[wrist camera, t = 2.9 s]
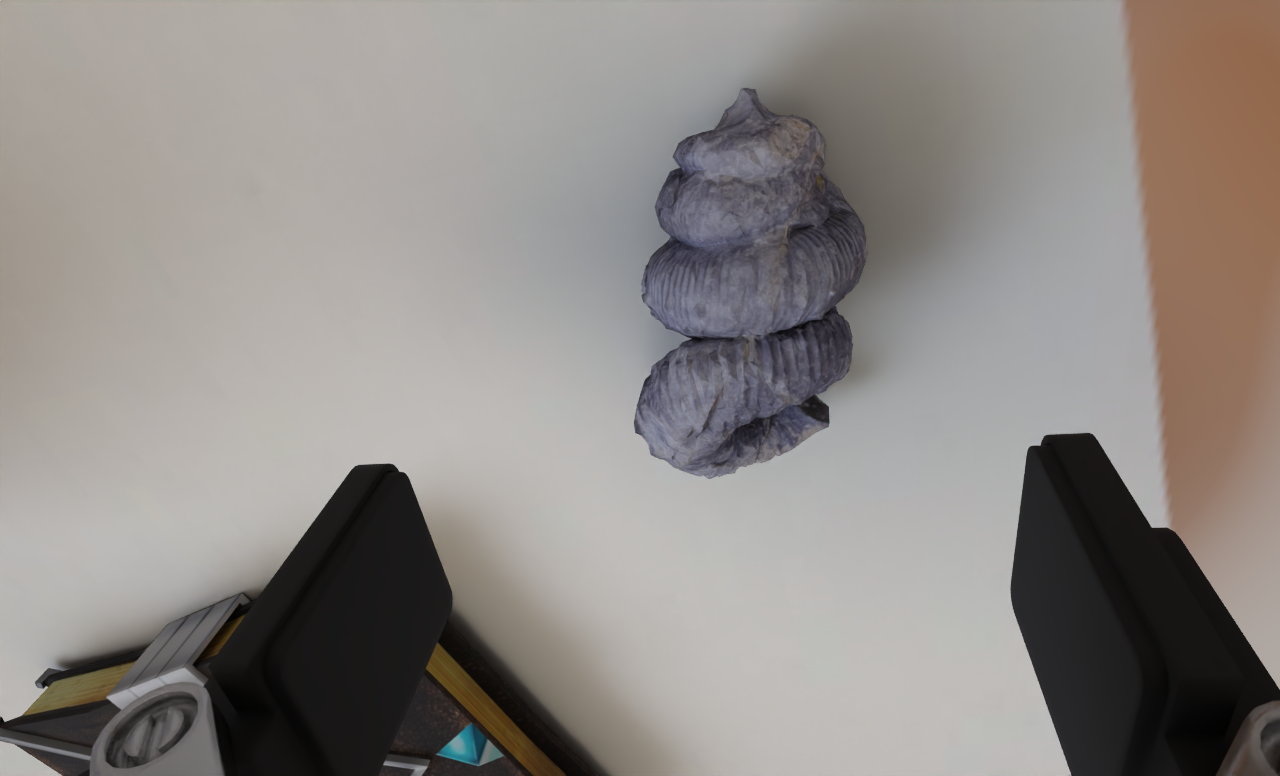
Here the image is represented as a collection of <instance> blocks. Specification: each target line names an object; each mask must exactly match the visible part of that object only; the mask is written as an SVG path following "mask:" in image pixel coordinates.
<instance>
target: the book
mask: <svg viewBox="0 0 1280 776" xmlns="http://www.w3.org/2000/svg"><path fill="white" fill-rule="evenodd" d="M256 600H257V599H256ZM256 600H254V601H250V600H249V599H247V598H246V597H245V596H244V595H243V594H242V593H241V594H239V595H237V596H234V597H232V598H229V599H227V600H225V601H222V602H220V603H218V604H215V605H213V606H210V607H208V608H206V609H203V610H201V611H198V612H196V613H194V614H191V615H189V616H187V617H184V618H182V619H179V620H177V621H175V622H172V623H170V624H167V626H166V627H165V628H164V629H163V630H162V631H161V633H160V634H159V635H158V636H157V637H156V639H155V640H154V641H153V642H152V643H151V644H150V646H149V647H148V648H146V649H143V650H141V651H138V652H134V653H131V654H127V655H123V656H119V657H115V658H111V659H108V660H104V661H100V662H96V663H92V664H89V665H85V666H81V667H77V668H73V669H69V670H66V671H60V670H55V669H51V668H48V669H47V670H46V671H45V672H44V673H43V674H42V675H41V676H40V678H39V679H38V680H37V681H36V682H35V684H36V686H37V687H38V688H42V689H43V688H44V687H45V686H47V687H48V688H47V689H46V691H45V692H44V693H43V694H42V695H41V696H40V697H39V698H38V699H37V700H36V701H35V702H34V703H33V704H32V706H31V707H30V708H29V709H28V710H27V711H26V712H25V713H24V714H23V715H22V716H20V717H18V718H15V719H12V720H9V721H7V722H4V720H3V718H2V717H0V741H3V742H7V743H12V744H15V745H17V746H18V747H20V748H21V749H23V750H24V751H26V752H27V753H29V754H30V755H32V756H33V757H35V758H37V759H38V760H40V761H41V762H43V763H44V764H46V765H47V766H49V767H50V768H52V769H53V770H55V771H56V772H58V773H60V774H61V775H63V776H77V775H79V774H81V773H83V772H84V771H86V770H88V769H90V758H91V753H92V749H93V745H94V744H95V742H96V740H97V738H98V737H99V735H100V733H101V731H102V730H103V729H104V728H105V726H106V725H107V724H108V723H109V722H110V721H111V720H112V719H113V717H114V716H115V715H116V714H118V713H119V712H120V711H121V710H122V709H124V708H125V707H126V706H127V705H129V704H130V703H131V702H132V701H134V700H136V699H137V698H139V697H141V696H142V695H144V694H146V693H147V692H149V691H152V690H154V689H157V688H159V687H162V686H164V685H167V684H172V683H178V682H192V683H197V684H199V685H201V686H202V687H203V686H204V685H205V683H206V682H207V681H208V679H209V678H210V676H211V675H212V673H211V672H210V670H209V669H208V666H209V665H210V663H211V662H212V660H213V659H214V658H215V656H216V655H217V654H218V652H219V651H220V649H221V648H222V647H223V645H224V644H225V643H226V641H227V640H228V638H229V637H230V636H231V634H232V633H233V632H234V630H235V629H236V628H237V626H238V625H239V623H240V622H241V621H242V619H243V618H244V617H245V615H246V614H247V612H248V611H249V610H250V608H251V607H252V606H253V604H254V603H255V601H256ZM379 776H596V775H595V774H594V773H593V772H592V771H591V770H590V769H589V768H588V767H587V766H586V765H585V764H584V763H583V762H582V761H581V760H579V759H578V758H577V757H576V756H575V755H574V754H573V753H572V752H571V751H570V750H569V749H568V748H567V747H566V746H565V745H564V744H563V743H562V742H561V741H560V740H559V739H557V738H556V737H555V736H554V735H553V734H552V733H551V732H550V731H549V730H548V729H547V728H546V727H545V726H544V725H543V724H542V723H541V721H540V720H539V719H538V718H537V717H536V716H535V715H534V714H533V713H532V712H531V711H530V710H529V709H528V708H527V707H526V706H525V704H524V703H523V702H522V701H521V700H520V699H519V698H518V697H517V696H516V695H515V694H514V693H513V692H512V691H511V690H510V689H509V687H508V686H507V685H506V684H505V683H504V682H503V681H502V680H501V679H500V678H499V677H498V676H497V675H496V674H495V673H494V671H493V670H492V669H491V668H490V667H489V666H488V665H487V664H486V663H485V662H484V661H483V660H482V659H481V658H480V657H479V656H478V654H477V653H476V652H475V651H474V650H473V649H472V648H471V647H470V646H469V645H468V644H467V643H466V642H465V641H464V640H463V639H462V637H461V636H460V635H459V634H458V633H457V632H456V631H455V630H454V629H453V628H452V627H451V626H450V625H449V623H448V622H446V624H445V626H444V629H443V631H442V633H441V636H440V638H439V640H438V642H437V645H436V647H435V649H434V651H433V654H432V656H431V658H430V660H429V663H428V665H427V667H426V669H425V672H424V674H423V676H422V678H421V681H420V683H419V685H418V687H417V690H416V692H415V694H414V696H413V699H412V701H411V703H410V706H409V708H408V710H407V712H406V715H405V717H404V719H403V721H402V724H401V726H400V728H399V730H398V733H397V735H396V737H395V739H394V742H393V744H392V746H391V748H390V751H389V753H388V755H387V757H386V760H385V762H384V764H383V766H382V769H381V771H380V773H379Z"/></svg>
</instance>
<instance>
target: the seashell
mask: <svg viewBox="0 0 1280 776" xmlns="http://www.w3.org/2000/svg"><path fill="white" fill-rule="evenodd" d="M825 146H826V142H825V139H824V137H823V136H822V134H821V133H820V132H819V131H818V129H817V127H816V126H815V125H814V124H812V123H811V122H810V121H808V120H806V119H803V118H800V117H797V116H794V115H791V116H779V115H776V114H774V113H772V112H770V111H769V110H768V109H767V108H766V107H765V106H764V105H762V104H761V103H760V102H759V99H758V96H757V93H756V90H754V89H749V88H743V89H741V90H740V93H739V96H738V98H737V100H736V102H735V103H734V104H733V106H731V107H730V108H728V109H726V110H725V112H724V114H723V116H722V118H721V120H720V122H719V124H718V125H717V126H716V128H715V129H714V130H711V131H707V132H703V133H700V134H697V135H693V136H690V137H687V138H686V139H684V140H683V141H681V142H680V143H679V144H678V146H677V148H676V150H675V153H674V155H673V158H674V159H675V161H676V162H677V163H678V165H679V166H680V167H681V168H679V169H676V170H673V171H671V172H670V173H669V175H668V177H667V179H666V181H665V183H664V185H663V187H662V189H661V191H660V193H659V196H658V199H657V202H656V205H655V209H656V213H657V217H658V220H659V223H660V226H661V228H662V229H663V230H664V231H665V232H667V233H668V234H669V235H670V236H671V237H670V239H669V241H668V242H667V243H666V244H664V245H663V246H662V247H660V248H659V249H658V250H657V251H656V252H655V253H654V254H653V255H652V256H651V258H650V260H649V262H648V264H647V265H646V268H645V272H644V275H643V279H642V284H641V285H642V293H643V295H642V299H643V302H644V303H645V304H646V305H647V306H648V307H649V308H650V309H651V315H652V316H654V317H655V318H656V319H657V320H660V321H661V322H662V323H663V325H664V326H665V327H666V329H670V330H673V331H676V332H678V333H680V334H682V335H684V336H687V337H689V338H691V340H688V341H685V342H682V344H681V345H680V347H679V348H677V349H675V350H672V351H670V352H669V353H668V354H667V355H666V356H665V357H664V358H663V359H662V360H660V361H658V362H657V363H656V364H654V365H653V366H652V369H651V375H650V376H649V377H648V378H646V379H645V381H644V384H643V388H642V391H641V394H640V398H639V401H638V404H637V409H636V414H635V420H634V426H635V433H637V434H639V435H641V436H643V438H644V439H645V440H646V442H647V443H648V444H649V449H650V454H651V455H652V456H655V457H657V458H659V459H664V460H665V461H667V462H668V463H669V464H670V465H672V466H673V467H674V468H677V469H679V470H682V471H685V472H688V473H691V474H694V475H697V476H703V475H704V476H705V477H707V478H708V479H710V478H713V477H716V476H718V477H720V476H723V475H725V474H732V473H735V471H736V470H737V468H738V467H742V466H743V467H746V466H747V465H751V464H753V463H762V462H765V461H768V460H771V459H772V458H773V457H774V456H775V455H778V456H780V455H781V454H783V453H785V452H788V451H790V450H792V449H793V448H795V447H796V446H797V445H799V444H800V443H801V442H803V441H804V440H805V439H807V438H808V437H810V436H811V435H813V434H814V433H816V432H818V431H820V430H822V429H824V428H827V427H829V423H830V422H829V407H828V406H827V405H826V404H825V403H823V402H822V401H821V400H820V399H819V398H817V396H816V395H815V394H818V393H822V392H824V391H826V389H827V388H828V387H829V386H830V385H831V384H833V383H834V382H836V381H838V380H840V379H842V378H843V377H844V376H845V375H846V374H847V373H848V371H849V368H850V364H851V355H852V347H853V344H852V334H851V330H850V326H849V323H848V322H847V321H846V320H845V319H844V317H843V316H841V315H839V314H838V311H837V309H836V306H835V305H836V304H837V303H838V302H839V301H841V300H842V299H843V298H844V297H845V295H846V294H847V293H848V292H850V291H851V290H852V289H853V288H854V287H855V286H856V285H857V283H858V282H859V279H860V276H861V273H862V270H863V267H864V265H865V262H866V257H867V250H866V236H865V230H864V226H863V224H862V222H861V221H860V219H859V217H858V216H857V214H856V213H855V211H854V210H853V209H852V208H851V206H850V205H849V204H848V203H847V201H846V200H845V199H844V197H843V195H842V193H841V191H840V190H839V189H838V188H837V187H836V186H835V185H834V184H833V183H832V182H831V181H830V180H829V179H828V177H827V176H826V175H825V174H824V172H823V171H822V168H823V166H824V164H825Z"/></svg>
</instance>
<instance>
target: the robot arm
mask: <svg viewBox="0 0 1280 776" xmlns="http://www.w3.org/2000/svg"><path fill="white" fill-rule="evenodd" d="M452 600H453V598H452V591H451V588H450V585H449V582H448V580H447V577H446V575H445V572H444V569H443V567H442V564H441V561H440V559H439V556H438V554H437V551H436V548H435V546H434V543H433V540H432V538H431V535H430V532H429V530H428V527H427V525H426V522H425V519H424V517H423V514H422V511H421V509H420V506H419V504H418V501H417V498H416V496H415V493H414V490H413V488H412V485H411V482H410V480H409V478H408V476H407V475H406V474H405V473H403V472H399V471H398V469H397V468H396V467H395V466H394V465H393V464H369V465H358V466H355V467H354V468H353V469H352V470H351V471H350V473H349V474H348V475H347V477H346V478H345V479H344V481H343V482H342V484H341V485H340V486H339V488H338V489H337V490H336V492H335V493H334V495H333V496H332V497H331V499H330V500H329V501H328V503H327V504H326V505H325V507H324V508H323V510H322V511H321V512H320V514H319V515H318V516H317V518H316V519H315V521H314V522H313V523H312V525H311V526H310V527H309V529H308V530H307V532H306V533H305V534H304V536H303V537H302V538H301V540H300V541H299V543H298V544H297V545H296V547H295V548H294V549H293V551H292V552H291V553H290V555H289V556H288V558H287V559H286V560H285V562H284V563H283V564H282V566H281V567H280V569H279V570H278V571H277V573H276V574H275V575H274V577H273V578H272V580H271V581H270V582H269V584H268V585H267V586H266V588H265V589H264V590H263V592H262V593H261V595H260V596H259V597H258V599H257V600H256V601H255V603H254V604H253V606H252V607H251V608H250V610H249V611H248V612H247V614H246V615H245V617H244V618H243V619H242V621H241V622H240V623H239V625H238V626H237V628H236V629H235V630H234V632H233V633H232V634H231V636H230V637H229V638H228V640H227V641H226V643H225V644H224V645H223V647H222V648H221V649H220V651H219V652H218V654H217V655H216V656H215V658H214V659H213V660H212V662H211V663H210V665H209V666H208V669H209V670H210V672H211V673H212V675H211V676H210V678H209V679H208V681H207V682H206V683H205V685H204V686H203V687H202V686H201V685H199V684H197V683H192V682H178V683H172V684H167V685H164V686H162V687H159V688H157V689H154V690H152V691H149V692H147V693H146V694H144V695H142V696H141V697H139V698H137V699H136V700H134V701H132V702H131V703H130V704H129V705H127V706H126V707H125V708H124V709H122V710H121V711H120V712H119V713H118V714H116V715H115V716H114V717H113V719H112V720H111V721H110V722H109V723H108V724H107V725H106V726H105V728H104V729H103V730H102V731H101V733H100V735H99V737H98V738H97V740H96V742H95V744H94V745H93V749H92V753H91V758H90V769H88V770H86V771H84V772H83V773H81V774H79V775H77V776H379V773H380V771H381V769H382V766H383V764H384V762H385V760H386V757H387V755H388V753H389V751H390V748H391V746H392V744H393V742H394V739H395V737H396V735H397V733H398V730H399V728H400V726H401V724H402V721H403V719H404V717H405V715H406V712H407V710H408V708H409V706H410V703H411V701H412V699H413V696H414V694H415V692H416V690H417V687H418V685H419V683H420V681H421V678H422V676H423V674H424V672H425V669H426V667H427V665H428V663H429V660H430V658H431V656H432V654H433V651H434V649H435V647H436V645H437V642H438V640H439V638H440V636H441V633H442V631H443V629H444V626H445V624H446V622H447V620H448V617H449V615H450V612H451V609H452ZM1011 600H1012V606H1013V610H1014V613H1015V616H1016V619H1017V622H1018V624H1019V627H1020V630H1021V633H1022V636H1023V639H1024V642H1025V644H1026V647H1027V650H1028V653H1029V656H1030V659H1031V661H1032V664H1033V667H1034V670H1035V673H1036V676H1037V678H1038V681H1039V684H1040V687H1041V690H1042V693H1043V695H1044V698H1045V701H1046V704H1047V707H1048V710H1049V713H1050V715H1051V718H1052V721H1053V724H1054V727H1055V730H1056V732H1057V735H1058V738H1059V741H1060V744H1061V747H1062V749H1063V752H1064V755H1065V758H1066V761H1067V764H1068V767H1069V769H1070V772H1071V775H1072V776H1280V690H1279V688H1278V687H1277V685H1276V683H1275V682H1274V680H1273V679H1272V677H1271V676H1270V675H1269V673H1268V671H1267V670H1266V668H1265V667H1264V665H1263V664H1262V662H1261V661H1260V659H1259V658H1258V656H1257V654H1256V653H1255V651H1254V650H1253V649H1252V647H1251V645H1250V644H1249V642H1248V641H1247V639H1246V638H1245V636H1244V635H1243V633H1242V632H1241V630H1240V629H1239V627H1238V625H1237V624H1236V622H1235V621H1234V619H1233V618H1232V616H1231V615H1230V613H1229V612H1228V610H1227V609H1226V607H1225V606H1224V604H1223V603H1222V601H1221V599H1220V598H1219V596H1218V595H1217V593H1216V592H1215V591H1214V589H1213V587H1212V586H1211V584H1210V583H1209V581H1208V580H1207V578H1206V577H1205V575H1204V574H1203V572H1202V570H1201V569H1200V567H1199V566H1198V564H1197V563H1196V561H1195V560H1194V558H1193V557H1192V555H1191V554H1190V552H1189V551H1188V549H1187V548H1186V546H1185V544H1184V543H1183V541H1182V540H1181V539H1180V538H1179V536H1178V535H1177V534H1176V533H1175V532H1174V531H1172V530H1170V529H1169V528H1151V526H1150V524H1149V523H1148V521H1147V520H1146V518H1145V516H1144V515H1143V513H1142V511H1141V510H1140V508H1139V507H1138V505H1137V503H1136V502H1135V500H1134V499H1133V497H1132V495H1131V494H1130V492H1129V490H1128V489H1127V487H1126V486H1125V484H1124V482H1123V481H1122V479H1121V478H1120V476H1119V474H1118V473H1117V471H1116V469H1115V468H1114V466H1113V465H1112V463H1111V461H1110V460H1109V458H1108V457H1107V455H1106V453H1105V452H1104V450H1103V448H1102V447H1101V445H1100V444H1099V442H1098V440H1097V439H1096V438H1095V436H1094V435H1093V434H1090V433H1078V434H1055V435H1046V436H1044V438H1043V440H1042V443H1041V446H1030V447H1029V449H1028V452H1027V458H1026V466H1025V474H1024V482H1023V490H1022V498H1021V506H1020V514H1019V522H1018V530H1017V538H1016V546H1015V554H1014V562H1013V571H1012V579H1011Z"/></svg>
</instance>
